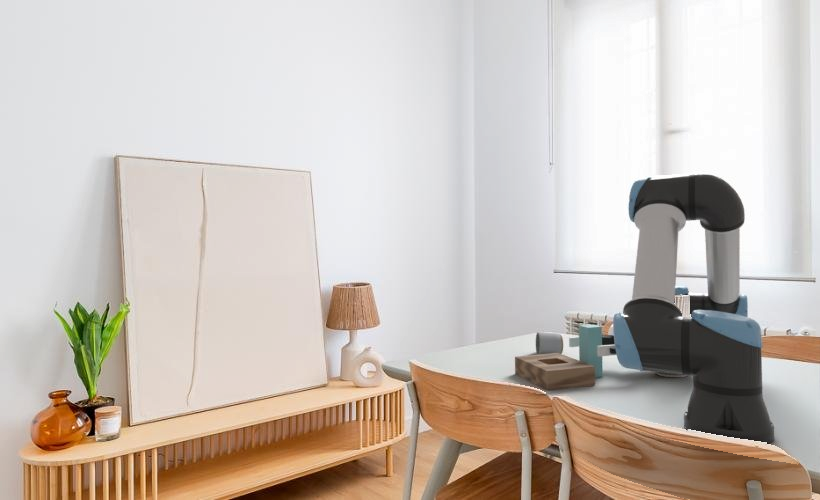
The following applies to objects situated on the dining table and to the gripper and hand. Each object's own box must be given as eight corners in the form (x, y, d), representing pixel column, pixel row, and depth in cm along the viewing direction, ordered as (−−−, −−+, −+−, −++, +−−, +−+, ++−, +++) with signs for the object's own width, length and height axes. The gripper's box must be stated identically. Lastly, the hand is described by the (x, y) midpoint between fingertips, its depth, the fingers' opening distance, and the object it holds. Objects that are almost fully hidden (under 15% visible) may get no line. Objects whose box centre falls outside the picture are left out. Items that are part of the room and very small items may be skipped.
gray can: (564, 357, 171) (564, 333, 171) (539, 357, 171) (539, 334, 171) (556, 350, 181) (556, 328, 181) (533, 351, 182) (532, 329, 182)
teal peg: (602, 376, 145) (601, 326, 145) (588, 378, 144) (588, 327, 144) (593, 373, 149) (592, 324, 149) (579, 374, 148) (578, 325, 148)
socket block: (595, 385, 137) (594, 366, 137) (547, 390, 133) (547, 371, 133) (558, 369, 154) (557, 352, 154) (515, 373, 150) (514, 356, 150)
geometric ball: (613, 350, 192) (600, 331, 195) (630, 341, 194) (616, 323, 197) (622, 343, 185) (608, 324, 188) (639, 334, 187) (625, 315, 191)
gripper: (679, 363, 140) (611, 369, 134) (619, 346, 164) (559, 351, 158) (679, 335, 140) (611, 340, 134) (618, 322, 164) (559, 326, 158)
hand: (583, 346), depth 146 cm, fingers open, 13 cm apart
